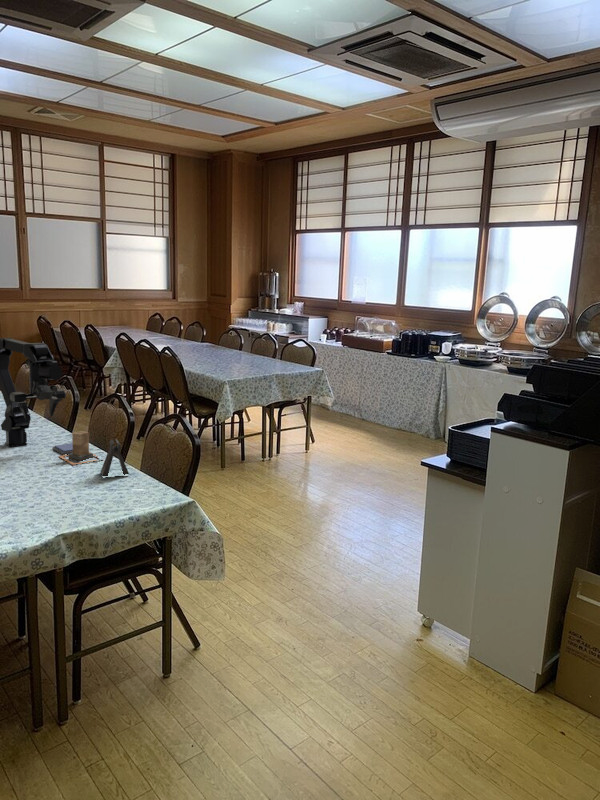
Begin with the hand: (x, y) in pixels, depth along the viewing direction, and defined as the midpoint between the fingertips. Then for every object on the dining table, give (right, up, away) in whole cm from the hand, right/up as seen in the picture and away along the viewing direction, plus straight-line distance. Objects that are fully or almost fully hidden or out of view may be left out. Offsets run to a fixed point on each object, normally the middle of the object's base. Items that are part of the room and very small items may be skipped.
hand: (39, 418), depth 228 cm
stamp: (+17, -15, -4) cm, 23 cm away
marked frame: (+18, -15, -4) cm, 23 cm away
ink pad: (+10, -13, +6) cm, 17 cm away
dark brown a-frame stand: (+35, -19, -20) cm, 44 cm away
